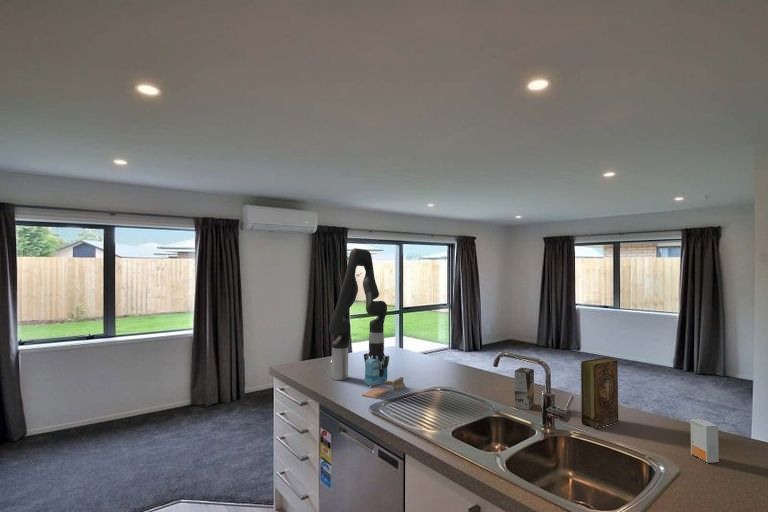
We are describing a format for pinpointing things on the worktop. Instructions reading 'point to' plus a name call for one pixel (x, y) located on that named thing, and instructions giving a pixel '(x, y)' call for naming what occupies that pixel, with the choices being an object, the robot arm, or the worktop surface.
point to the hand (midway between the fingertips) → (376, 375)
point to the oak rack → (395, 383)
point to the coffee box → (524, 388)
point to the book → (599, 392)
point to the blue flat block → (374, 372)
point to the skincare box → (704, 440)
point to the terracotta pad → (375, 392)
